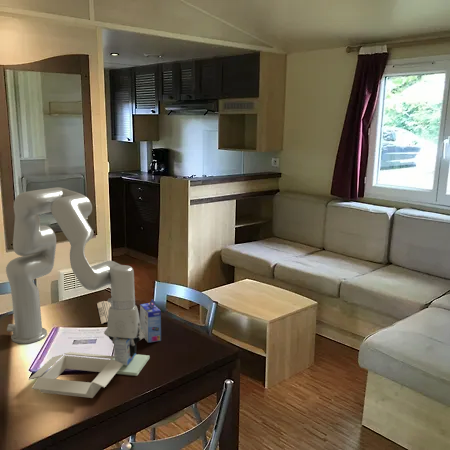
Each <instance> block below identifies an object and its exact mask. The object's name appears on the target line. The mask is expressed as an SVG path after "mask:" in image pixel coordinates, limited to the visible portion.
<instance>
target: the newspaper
mask: <svg viewBox="0 0 450 450" xmlns="http://www.w3.org/2000/svg"><path fill="white" fill-rule="evenodd" d="M96 304H97V310H98V315H99V318H100V322H101V323H100V324H101V325H104V323H108V313H109V307H111V303H108V300H107V301H105V300H103V301H98V302H97V303H96Z"/></svg>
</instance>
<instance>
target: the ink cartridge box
mask: <svg viewBox="0 0 450 450" xmlns="http://www.w3.org/2000/svg"><path fill="white" fill-rule="evenodd" d="M139 309H140V310H139V318H140V327H141V329H142V330H143V331H144V333H145V334H146V336H145V337H144V338H143V339H145V341H146V342H147V343H148V344H150V343H155V342H161V341H162V319H161V318H162V310H161V309H160V308H158V306H156V301H154V299H151V300H150V302H147V303H140V304H139Z"/></svg>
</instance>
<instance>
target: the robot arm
mask: <svg viewBox="0 0 450 450" xmlns="http://www.w3.org/2000/svg"><path fill="white" fill-rule="evenodd" d="M92 211H93V204H92V202H91V200H90V199H89V197H87V196H86V195H84V194H82V193H79V192H77V191H74V190H71V189H70V190H69V189H68V188H64V187H60V186H59V187H51V188H42V189H36V190H29V191H23V192H21V193H19V194H17V195H16V197H15V199H14V201H13V212H14V226H13V237H12V238H13V239H12V248H13V249H12V250H13V251H14V253H15V255H18V257H16V258H14V259H12V260H10V261H9V262H8V263H7V265H6V267H5V272H6V276H7V280H8V283H9V287H10V291H11V301H12V302H11V303H12V311H13V321H14V323H9V324H7V328H6V331H7V332H12V334H11V337H10V338H11V341H12V342H13V343H15V344H31V343H35V342H38V341H40V340H43V339H44V338H45V337H46V336H47V335H48V331H47V329H46V328H43V324H42V321H43V320H42V311H41V301H40V291H39V288H38V287H37V285H36V284H35V283H34V280H36V279H38V278H41V277H45V276H47V275H48V274H50V273H51V272H52V271H53V269H54V265H55V259H56V249H57V235H56V233H55V231H54V230H53V229H52V228H51V227H50V226H48V225H41V217H40V216H39V215H43V214H49V213H51V214H52V216H53V218H54V219H55V221H56V223H57V224H58V226H59V228H60V229H61V231H62V232H63V235H64V236H65V237H66V239H67V241H68V242H69V244H70V250H69V262H70V266H71V270H72V272H73V274H74V275H75V277H76V279H77V280H78V281H79V283H80V285H81V286H82V287H83V288H85V289H86V290H87V291H88V290H89V291H96V290H99V289H101V288H103V287H106V286H108V285H110V295H111V298H107V301H108V303H111V307H109V313H108V322H107V328H106V329H105V330H104V332H103V334H104V335H105V336H106V337H107V338H109V340H110V341H111V343H112V344H113V345H114V341H115V340H116V339H117V338H129V339H130V342H131V345H130V356H131V357H133V355H134V354H135V353H136V354H137V344H138V343H139V341H141V340H142V339H145V338H144V337H145V336H146V334H145V333H144V331H143V330H142V329H141V327H140V311H139V310H138V309H139V308H138V306H137V305H136V296H135V295H136V292H135V271H134V268H133V267H132V266H130V265H125V264H121V263H118V262H116V261H113V260H105V261H103V262H100V263H98V264H95V265H90V263H89V262H88V259H87V257H86V253H85V250H86V249H85V248H86V245H87V243H88V242H90V240H92V239H93V237H94V234H95V233H94V230H93V229H92V227H91V225H90V223H88V220H87V217H89V216H90V215H91V214H92Z"/></svg>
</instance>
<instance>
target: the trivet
mask: <svg viewBox="0 0 450 450" xmlns="http://www.w3.org/2000/svg"><path fill="white" fill-rule="evenodd" d="M113 356H115V354H114V355H113ZM150 358H151V357H150V355H146V354H139V353H138V354H137V353H136V355H135V356H134V358H133V359H132V360H131V361H130V363H129V364H128V365H122V367H121V368H120V369H119V370H118V372H117V373H116V374H117V375H125V376H135V377H137V376H138V375H139V374H140V372H141V371H142V369H143V368H144V367H145V365H146V364H147V362H148V361H149V360H150ZM110 360H112V359H110ZM113 360H115V358H114V359H113ZM116 374H115V375H116Z"/></svg>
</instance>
